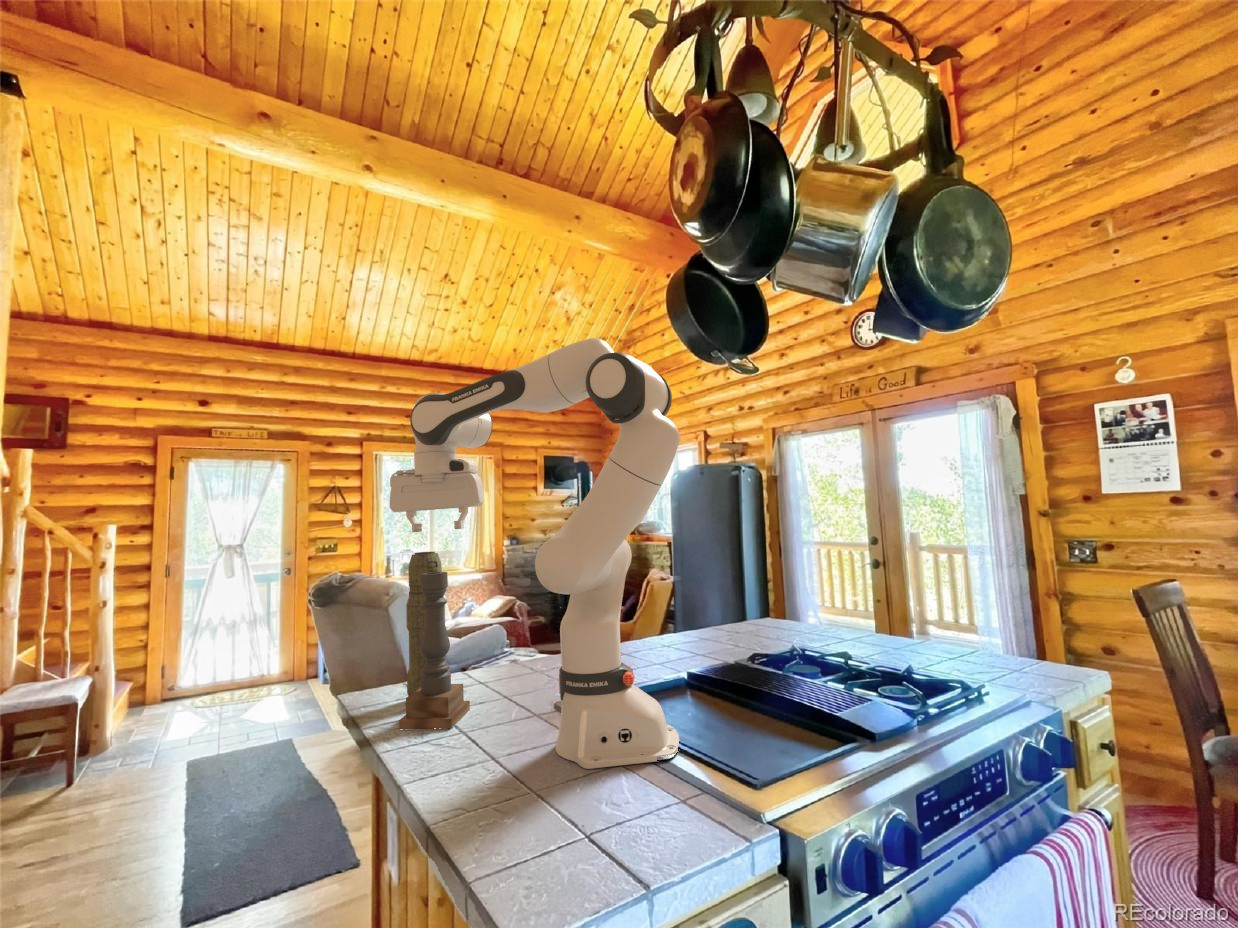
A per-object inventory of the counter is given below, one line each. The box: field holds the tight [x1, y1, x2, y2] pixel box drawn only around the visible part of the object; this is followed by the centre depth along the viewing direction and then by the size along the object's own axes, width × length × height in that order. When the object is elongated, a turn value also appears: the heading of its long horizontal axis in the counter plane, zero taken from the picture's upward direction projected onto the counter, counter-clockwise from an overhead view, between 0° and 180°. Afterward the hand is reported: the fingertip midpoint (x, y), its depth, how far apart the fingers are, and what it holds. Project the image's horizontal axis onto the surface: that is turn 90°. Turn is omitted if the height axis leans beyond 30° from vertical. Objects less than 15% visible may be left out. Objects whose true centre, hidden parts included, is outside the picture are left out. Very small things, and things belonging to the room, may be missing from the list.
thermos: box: [405, 551, 446, 697], centre depth 132 cm, size 9×12×35 cm
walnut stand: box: [398, 683, 471, 730], centre depth 118 cm, size 11×11×6 cm
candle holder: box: [421, 571, 452, 695], centre depth 119 cm, size 6×6×25 cm
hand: (438, 530), depth 120 cm, fingers open, 8 cm apart
